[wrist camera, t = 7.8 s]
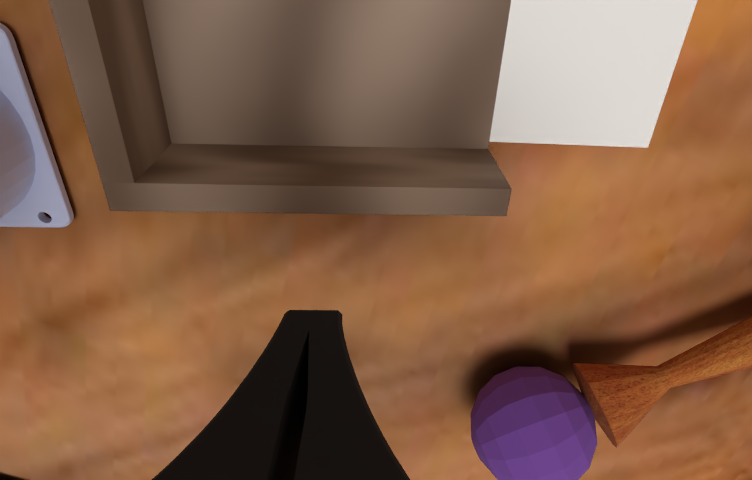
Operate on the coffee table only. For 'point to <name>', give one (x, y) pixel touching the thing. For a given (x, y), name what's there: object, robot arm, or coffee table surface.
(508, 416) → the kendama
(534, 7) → the panel
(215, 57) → the crate
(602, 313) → the coffee table surface
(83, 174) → the coffee table surface
